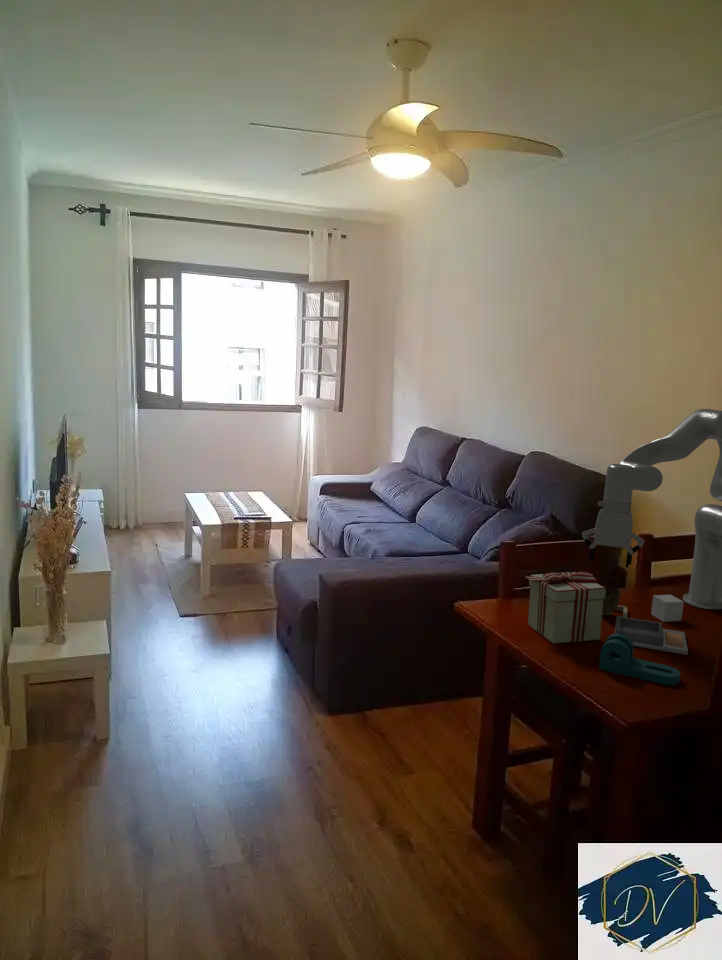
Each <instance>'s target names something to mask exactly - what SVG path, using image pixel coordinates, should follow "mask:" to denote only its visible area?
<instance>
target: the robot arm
mask: <svg viewBox="0 0 722 960" xmlns="http://www.w3.org/2000/svg"><path fill="white" fill-rule="evenodd" d="M709 439H711V440H715V441H717V445H718V449H719V456H718V459H717V460H718V461H717V464H716V466H715V470H714V473H713V476H712V478H711V479H712V480H711V482H710V486H709V493H710V496H711V497H712V498H713V499H715V500H717V501H720V502H722V410H718V409H711V408H709V409H708V408H700V409H697V410H695V411H693V412H692V413H691V414H690V415H688V416H687V417H686V418H685V419H684V420H682V421H681V422H680V423H679V424H678V425H677V426H675V428H673V429H672V430H671V431H670V432H669V433H667V434H666V435H665V436H663V437H660V438H658V439H654V440H653V441H650V442H648V443H645V444H642V445H640V446H639V447H636V448H635V449H634V450H632V451H631V452H630V453H628V454H627V455H626V456H625V457H623V459H621V461H620V462H619V463H611V464H609V465H608V466H607V468H606V476H605V483H604V484H605V485H604V492H603V493H604V494H603V500H597V506H599V507H601V508H600V509H599V512H598V514H597V517H596V523H595V527H594V528H590V529H587V530H584V531H582V532H581V536H582V538H583V541H584V543H585V544H586V546H587V547H588V548H589V554H588V559H589V560H590V563H591V564H593V563H594V561H595V554H596V553H595V552H596V546H598V545H599V546H605V547H612V548H618V549H619V548H620V549H626V551H627V552H626V559H625V568H628V569H629V566H631V565H632V559H633V555H634V554H635V553H637V552H638V551H639V550H640V549H641V548H642V547H643V546H644V544H645V540H644V539H643V538H642V537H640V536H638V535H637V534H635V533H634V532H633V527H634V525H633V524H634V523H633V522H634V520H633V517H634V516H633V513H632V512H631V506H632V496H633V491H641V492H653V491H656V490H657V489H658V488H660V486H661V485H662V484H663V480H664V479H663V474H662V472H661V470H659V468H657V467H655V466H654V465H657V464H660V463H667V462H675V461H679V460H683V459H686V458H688V457H689V456H690V455H691V454H692V453H693V452H694V451H696V450H697V449H698V448H699V447H700V446H701V445H702V444H704V443H705V442H706V441H707V440H709ZM694 530H695V534H694V535H695V537H694V538H695V539H694V542H695V543H694V549H693V558H692V564H691V565H692V567H691V573H690V574H691V575H690V582H689V588H688V593H685V594H683V595H682V601H683V602H684V603H686V604H688V605H690V606H692V607H694V608H695V607H696V608H698V609H699V608H700V609H703V610H704V609H705V610H711V611H712V610H714V611H715V610H722V505H720V504H715V503H709V504H708V503H707V504H704V505H702V506H700V507H699V508H698V509H697V510H696V512H695V515H694ZM589 535H593V540H592V541H591V540H590V538H589V537H588V536H589ZM632 539H633V540H634V541H636V542H637V543H636V545H635V546H633V547H632V545H631V544H632Z"/></svg>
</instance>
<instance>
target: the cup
mask: <svg viewBox="0 0 722 960" xmlns="http://www.w3.org/2000/svg"><path fill="white" fill-rule="evenodd" d="M601 586H603V587H605V588H606V593H605V599H603V607H602V617H611V616H612V615H613V612H614V610H615V609H616V608H617V606H618V605H619V603H620V600H621V595H622V590H621V589H620V588H618V587H615V586H611V587H608V585H602V584H601Z"/></svg>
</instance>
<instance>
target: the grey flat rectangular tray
mask: <svg viewBox="0 0 722 960" xmlns="http://www.w3.org/2000/svg"><path fill="white" fill-rule="evenodd" d="M614 629H615V630H614V634H615V633H620V634H624V635H626V636H627V637H629V638H630V639H631V641H632V643H633V646H634V647H638V648H645V649H649V650H657V651H662V652H669V653H675V654H680V655H681V654H682V655H689V654H688V653H689V650H688V644H687V640H686V639H687V638H686V634H685V633H686V632H684V631H681V630H674V629H666V628H663V623H662V622H659V621H652V620H648V619H647V620H645V619H640V618H639V619H638V618H632V617H628V616H627V617H623V616H621V615H620V616H619V615H616V617H615V628H614Z"/></svg>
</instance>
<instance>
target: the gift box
mask: <svg viewBox="0 0 722 960" xmlns="http://www.w3.org/2000/svg"><path fill="white" fill-rule="evenodd" d="M524 577H525V578H526V579H527V580H529V581H528V582H529V584H528V585H529V586H530V588H529V591H530V592H529V603H528V605H529V606H528V618H527V625H528V626H529V627H530V628H532V629H533V630H534V631H535V632H537V633H538V634H540V635H541V636H542V637H543V638H545V639H546V640H547V641H549V642H550V643H552V644H555V645H556V644H568V643H578V642H579V643H580V642H588V641H589V642H591V641H600V640H601V631H602V621H603V620H602V618H603V615H602V607H603V599H605V593H606V588H605V586H604V585H602V584H601V585H602V586H601V585H600V584H599V583H597V582H598V580H597V579H596V577H595V576H594V575H593V573H591V572H590V571H583V570H581V571H573V572H570V571H565V572H547V573H541V574H540V573H539V574H538V573H537V574H530V575H524ZM603 586H604V587H603Z"/></svg>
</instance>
